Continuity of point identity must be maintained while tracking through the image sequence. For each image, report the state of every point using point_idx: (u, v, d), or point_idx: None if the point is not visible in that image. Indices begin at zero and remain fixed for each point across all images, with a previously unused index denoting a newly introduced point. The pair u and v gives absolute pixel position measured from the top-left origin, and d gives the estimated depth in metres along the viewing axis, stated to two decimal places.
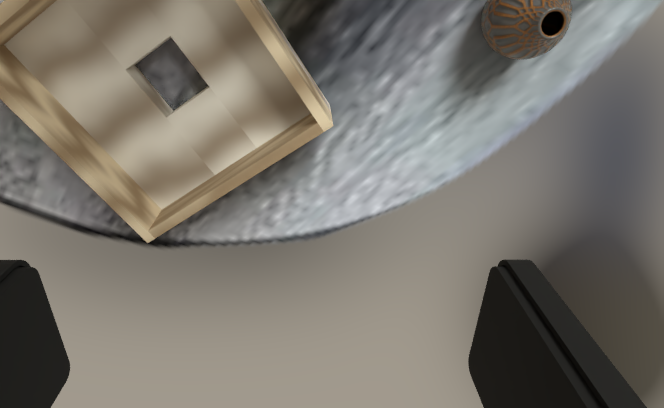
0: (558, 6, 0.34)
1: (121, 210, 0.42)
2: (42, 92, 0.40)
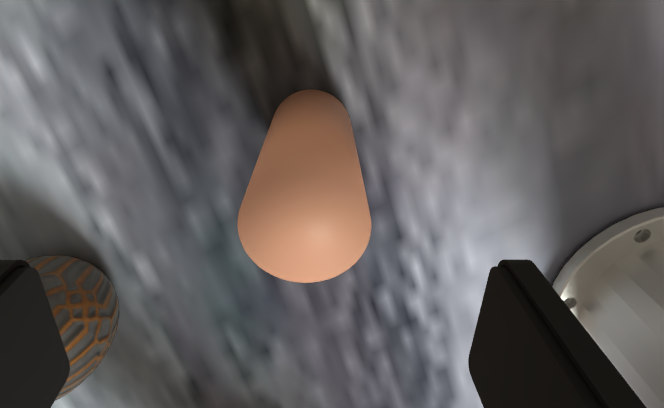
0: None
1: None
2: None
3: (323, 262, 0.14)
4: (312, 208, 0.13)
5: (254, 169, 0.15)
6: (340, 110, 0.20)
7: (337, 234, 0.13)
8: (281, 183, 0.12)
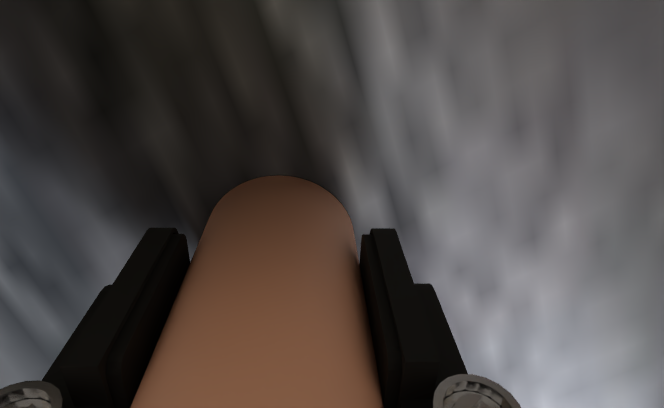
0: None
1: None
2: None
3: None
4: None
5: None
6: (335, 231, 0.10)
7: None
8: None
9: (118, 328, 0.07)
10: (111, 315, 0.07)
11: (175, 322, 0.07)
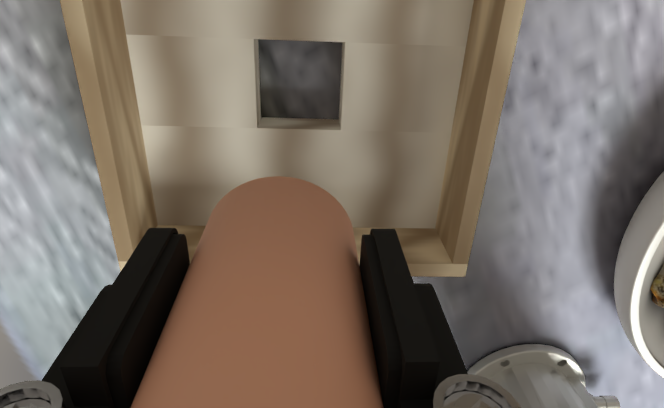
0: None
1: None
2: None
3: None
4: None
5: None
6: (335, 232, 0.10)
7: None
8: None
9: (118, 329, 0.07)
10: (111, 315, 0.07)
11: (174, 324, 0.07)
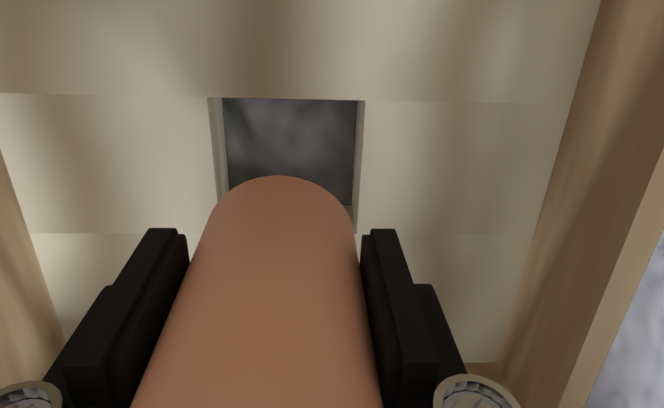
0: None
1: None
2: None
3: None
4: None
5: None
6: (335, 231, 0.10)
7: None
8: None
9: (118, 329, 0.07)
10: (111, 315, 0.07)
11: (174, 322, 0.07)
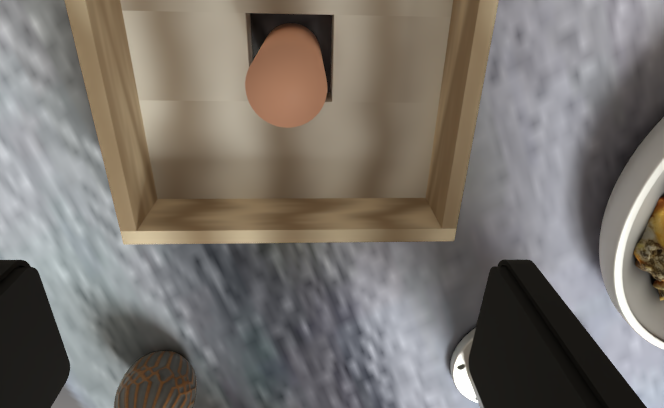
0: None
1: None
2: None
3: (298, 112, 0.22)
4: (290, 73, 0.21)
5: None
6: (311, 35, 0.28)
7: (307, 91, 0.21)
8: (271, 56, 0.21)
9: None
10: None
11: (265, 40, 0.25)
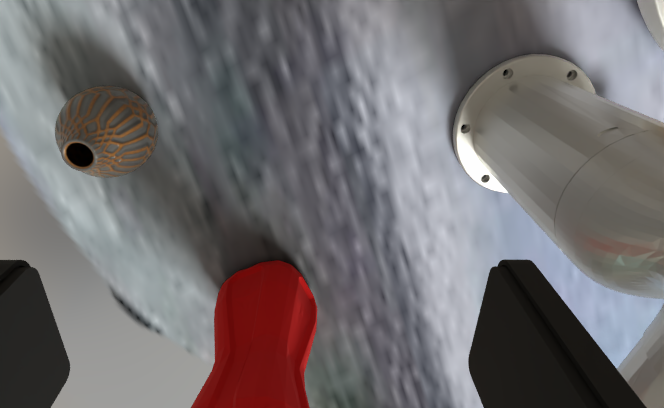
0: (96, 165, 0.30)
1: None
2: None
3: None
4: None
5: None
6: None
7: None
8: None
9: None
10: None
11: None
